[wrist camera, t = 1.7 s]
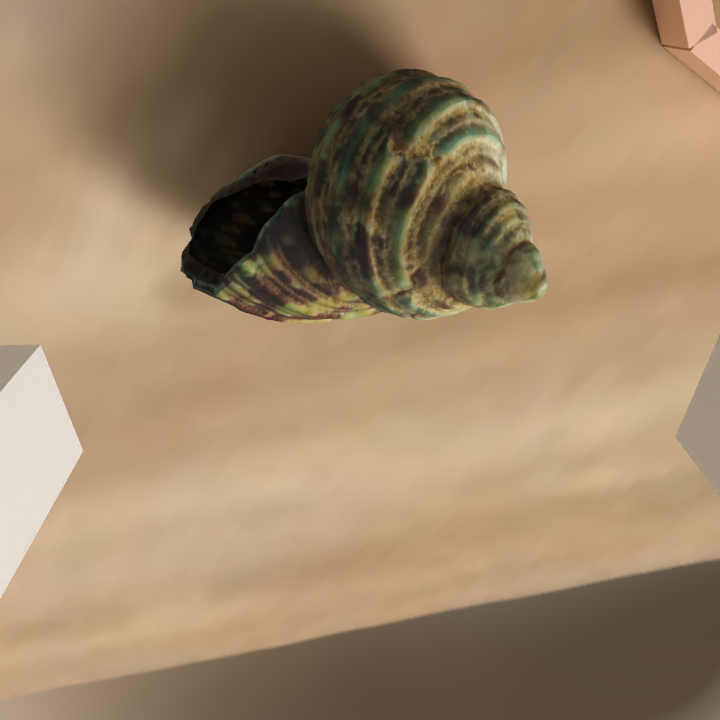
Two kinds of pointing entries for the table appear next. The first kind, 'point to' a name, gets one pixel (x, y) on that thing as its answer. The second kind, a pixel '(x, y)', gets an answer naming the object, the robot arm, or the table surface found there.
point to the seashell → (374, 215)
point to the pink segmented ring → (691, 35)
